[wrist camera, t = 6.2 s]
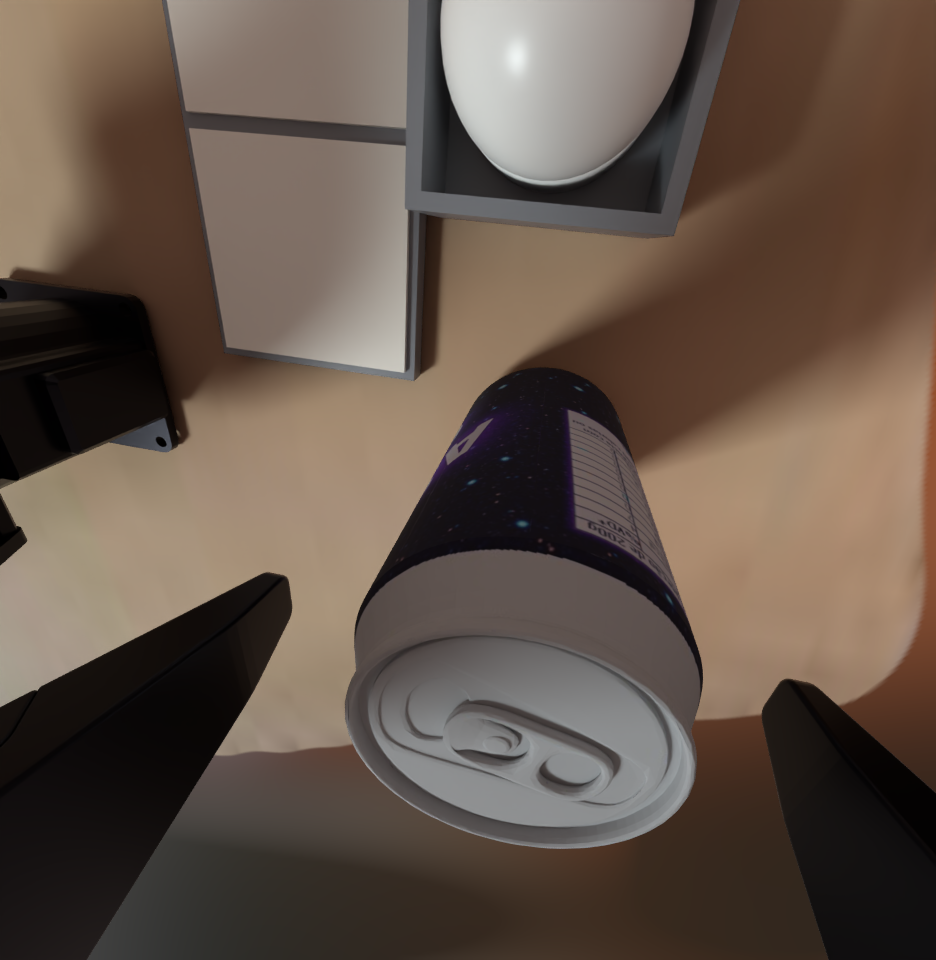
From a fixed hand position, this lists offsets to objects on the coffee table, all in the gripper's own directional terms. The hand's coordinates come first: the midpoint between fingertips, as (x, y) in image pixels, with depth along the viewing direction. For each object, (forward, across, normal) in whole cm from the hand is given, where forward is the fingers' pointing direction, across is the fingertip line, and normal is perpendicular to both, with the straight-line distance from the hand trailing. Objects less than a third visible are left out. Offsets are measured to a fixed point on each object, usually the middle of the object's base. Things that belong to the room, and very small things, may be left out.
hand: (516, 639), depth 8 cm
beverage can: (+10, 0, 0) cm, 10 cm away
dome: (+9, +1, -10) cm, 13 cm away
